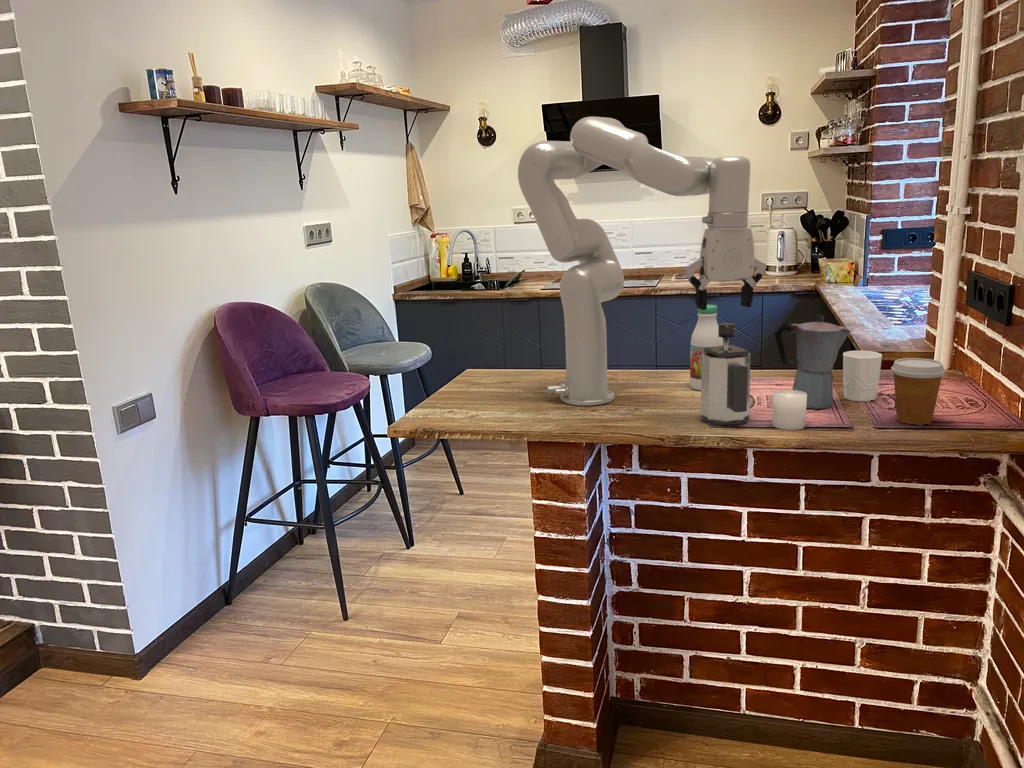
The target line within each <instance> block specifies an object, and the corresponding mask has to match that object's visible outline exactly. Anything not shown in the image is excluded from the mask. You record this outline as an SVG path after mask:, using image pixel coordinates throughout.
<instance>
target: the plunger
mask: <svg viewBox="0 0 1024 768" xmlns="http://www.w3.org/2000/svg"><path fill="white" fill-rule="evenodd" d="M717 324H718V323H717ZM735 325H736V324H735V323H729V322H726V323H722V322H721V323H719V324H718V337H723V346H724V350H728V345H729V340H730V339H729V338H734V337H735V330H736V329H735V327H736V326H735Z"/></svg>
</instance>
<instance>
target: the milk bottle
mask: <svg viewBox="0 0 1024 768" xmlns="http://www.w3.org/2000/svg"><path fill="white" fill-rule="evenodd" d="M696 311H697V314H696V315H697V316H698V317H697V321H696V325H695V328H694V330H693V331H692V333H691V338H690V347H689V348H690V349H689V350H690V352H689V353H690V354H689V361H690V362H689V363H690V364H689V386H690V388H691V389H693V390H697V391H701V367H702V354H703V353H705V352H704V347H715V346H724V338H723V337H718V321H717V316H718V306H717V305H716V304H707V309H706V310H701V309H699V308H697V307H696Z"/></svg>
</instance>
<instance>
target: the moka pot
mask: <svg viewBox="0 0 1024 768" xmlns="http://www.w3.org/2000/svg"><path fill="white" fill-rule="evenodd" d="M816 318H817V319H816V320H817V321H810V322H802V323H789V322H783V324H781V326H779V327H778V328H777V330H775V332H774V339H775V342H776V345H777V348H778V352H779V357H780V360H781V362H782V363H781V364H782V365H786V366H793V365H794V363H795V361H793V360H788V359H787V356H786V353H785V352H786V351H785V347H784V342H783V337H782V334H783V333H784V332H786V331H787V332H788V333H794V334H795V344H796V346H795V347H796V348H795V349H796V355H795V356H796V359H797V362H796V366H797V369H796V372H795V377H794V381H793V385H792V388H791V390H798V391H803V392H805V393H807V406H806V409H815V410H817V409H818V410H821V409H822V410H823V408H825V409H829V408H828V407H830V408H831V407H832V406H833V404H834V402H833V401H834V398H833V397H834V395H833V394H834V392H833V391H834V389H833V387H834V386H833V379H834V375H833V369H834V364H835V363H836V362H837V357H838V354H839V351H840V349H841V347H842V345H843V344H844V343H845V340H846V339H847V337H848V336H849V334H850V333H852V331H851V329H849V328H848V327H846V326H841V325H836V324H833V323H829V322H825V321H824V319H825V315H824V314H823V313H822V314H821V313H819V314H816Z"/></svg>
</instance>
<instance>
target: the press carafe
mask: <svg viewBox="0 0 1024 768" xmlns="http://www.w3.org/2000/svg"><path fill="white" fill-rule="evenodd" d="M704 352H705V353H703V354H702V367H701V390H700V391H701V393H700V395H701V397H700V420H702V421H701V422H703V423H704V422H706V423H705V424H707V423H710V424H709V425H711V424H715V425H714V426H716V425H738V426H740V425H739V424H743V423H746V422H748V421H749V422H750V394H751V393H750V392H751V391H750V389H751V388H750V387H751V355H752V354H751V353H750V352H749V350H747V349H744V348H742V347H739V346H736V345H735V344H730V345H729V344H728V350H724V345H723V346H715V347H704ZM749 422H748V423H749ZM746 424H747V423H746ZM743 425H744V424H743Z"/></svg>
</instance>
